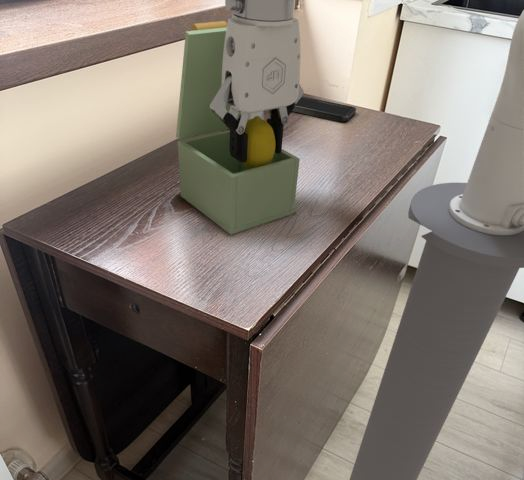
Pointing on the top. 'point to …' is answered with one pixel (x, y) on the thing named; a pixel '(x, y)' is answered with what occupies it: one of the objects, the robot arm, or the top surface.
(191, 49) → the lid
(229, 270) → the top surface
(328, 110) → the phone
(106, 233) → the top surface
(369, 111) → the top surface
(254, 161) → the lemon
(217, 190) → the chest
